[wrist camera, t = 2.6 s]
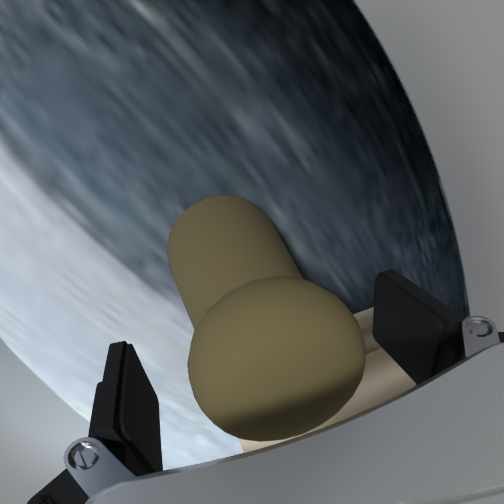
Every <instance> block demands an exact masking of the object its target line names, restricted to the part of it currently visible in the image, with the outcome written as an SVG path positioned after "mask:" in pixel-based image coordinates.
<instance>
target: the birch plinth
mask: <svg viewBox="0 0 504 504" xmlns="http://www.w3.org/2000/svg"><path fill="white" fill-rule="evenodd" d="M373 311H374V307H372V308H370V309H367V310H364V311H361V312H359V313H356V314H353V315H354V317H355V318H356V319H357V322H358V324H359V326H360V328H361V331H362V334H363V339H364V344H365V349H366V363H365V368H364V373H363V377H362V381H361V383H360V384H359V386H358V388H357V390H356V391H355V393H354V395H353V397H352V398H351V399H350V400H349V401H348V402H347V403H346V404H345V405H344V406H343V408H342V409H341V410H340V411H339V412H338V413H337V414H336V415H334V416H333V417H331V418H330V419H329V420H327V421H326V422H325V423H323V424H322V425H320V426H318V427H316V428H314V429H312V430H310V431H308V432H306V433H304V434H307V433H310V432H313V431H315V430H318V429H321V428H324V427H326V426H329V425H331V424H334V423H336V422H339V421H341V420H344V419H346V418H349V417H351V416H353V415H356V414H358V413H360V412H363V411H365V410H367V409H369V408H372V407H374V406H376V405H378V404H380V403H382V402H385V401H387V400H389V399H391V398H393V397H395V396H397V395H399V394H401V393H403V392H405V391H407V390H409V389H411V388H413V387H414V386H416V383H415V382H414V381H413V380H412V379H411V378H410V377H409V376H408V375H407V373H406V372H405V371H404V370H403V369H402V368H401V367H400V366H399V365H398V364H397V363H396V362H395V361H394V360H393V359H392V358H391V357H390V356H389V354H388V353H387V352H386V351H385V350H384V349H383V348H382V347H381V346H380V345H379V344H378V343H377V342H376V341H375V340H374V338H373V334H372V328H373ZM304 434H301V435H304ZM301 435H298V436H301ZM298 436H295V437H291V438H288V439H284V440H275V441H264V442H258V441H250V440H243V439H239V440H240V443H241V445H242V448H243V451H244V453H246V452H250V451H253V450H257V449H260V448H264V447H267V446H271V445H274V444H277V443H280V442H283V441H286V440H290V439H293V438H296V437H298Z"/></svg>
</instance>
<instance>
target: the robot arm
mask: <svg viewBox="0 0 504 504" xmlns="http://www.w3.org/2000/svg"><path fill="white" fill-rule="evenodd" d="M459 319H460V315H458V314H457V313H456V312H454V311H453V310H452V309H450V308H449V307H447V306H446V305H444V304H443V303H442V302H440V301H439V300H437V299H436V298H434V297H433V296H432V295H430V294H429V293H427V292H426V291H424V290H423V289H421V288H420V287H418V286H417V285H416V284H414V283H413V282H411V281H410V280H408V279H407V278H405V277H404V276H402V275H401V274H399V273H398V272H396V271H395V270H393V269H390V270H387V271H383V272H380V273H379V274H378V276H377V278H375V284H374V311H373V328H372V334H373V338H374V340H375V341H376V342H377V343H378V344H379V345H380V346H381V347H382V348H383V349H384V350H385V351H386V352H387V353H388V354H389V356H390V357H391V358H392V359H393V360H394V361H395V362H396V363H397V364H398V365H399V366H400V367H401V368H402V369H403V370H404V371H405V372H406V373H407V375H408V376H409V377H410V378H411V379H412V380H413V381H414V382H415V383H416V384H417V385H416V386H414V387H413V388H411V389H409V390H407V391H405V392H403V393H401V394H399V395H397V396H395V397H393V398H391V399H389V400H387V401H385V402H382V403H380V404H378V405H376V406H374V407H372V408H369V409H367V410H365V411H363V412H360V413H358V414H356V415H353V416H351V417H349V418H346V419H344V420H341V421H339V422H336V423H334V424H331V425H329V426H326V427H324V428H321V429H318V430H315V431H313V432H310V433H307V434H304V435H301V436H298V437H296V438H293V439H290V440H286V441H283V442H280V443H277V444H274V445H271V446H267V447H264V448H260V449H257V450H253V451H250V452H246V453H242V454H238V455H234V456H230V457H226V458H222V459H217V460H213V461H209V462H204V463H200V464H195V465H190V466H185V467H180V468H174V469H169V470H164V471H163V465H162V452H161V437H160V419H159V402H158V398H157V395H156V393H155V391H154V389H153V387H152V385H151V383H150V381H149V379H148V377H147V375H146V373H145V371H144V369H143V367H142V364H141V362H140V360H139V358H138V356H137V353H136V351H135V349H134V347H133V345H132V344H127V342H126V341H122V342H117V343H112V344H110V346H109V350H108V355H107V360H106V365H105V370H104V375H103V381H102V382H99V383H98V384H97V387H96V393H95V398H94V404H93V409H92V415H91V422H90V428H89V435H88V437H84V438H80V439H78V440H76V441H74V442H72V443H71V444H70V445H69V446H68V448H67V449H66V451H65V454H64V464H65V466H66V469H65V470H64V471H63V472H62V473H61V474H59V475H58V476H57V477H56V478H55V479H53V480H52V481H51V482H50V483H49V484H47V485H46V486H45V487H44V488H43V489H42V490H40V491H39V492H38V493H37V494H35V495H34V496H33V497H32V498H31V499H30V500H29V501H28V503H27V504H504V332H497V328H496V326H495V324H494V323H493V322H492V321H491V320H489V319H488V318H485V317H482V316H471V317H468V318H466V319H465V320H464V321H463V323H461V322H459Z"/></svg>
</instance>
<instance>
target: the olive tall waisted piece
mask: <svg viewBox="0 0 504 504" xmlns="http://www.w3.org/2000/svg"><path fill="white" fill-rule="evenodd" d="M167 255H168V260H169V266H170V269H171V272H172V274H173V277H174V280H175V282H176V285H177V287H178V290H179V293H180V295H181V298H182V300H183V303H184V305H185V308H186V310H187V313H188V315H189V318H190V320H191V322H192V325H193V327H194V330H195V331H194V334H193V338H192V342H191V347H190V353H189V358H188V364H187V365H188V373H189V380H190V383H191V387H192V390H193V394H194V397H195V399H196V401H197V403H198V405H199V407H200V408H201V410H202V411H203V412H204V414H205V415H206V416H207V417H208V418H209V419H210V420H211V421H212V422H213V423H214V424H215V425H216V426H218V427H219V428H220V429H222V430H223V431H224V432H226V433H228V434H231V435H233V436H235V437H237V438H239V439H243V440H250V441H258V442H264V441H275V440H284V439H288V438H291V437H295V436H298V435H301V434H304V433H306V432H308V431H310V430H312V429H314V428H316V427H318V426H320V425H322V424H323V423H325V422H326V421H327V420H329V419H330V418H331V417H333V416H334V415H336V414H337V413H338V412H339V411H340V410H341V409H342V408H343V406H344V405H345V404H346V403H347V402H348V401H349V400H350V399H351V398H352V397H353V395H354V393H355V391H356V390H357V388H358V386H359V384H360V383H361V381H362V377H363V373H364V368H365V363H366V349H365V344H364V339H363V334H362V331H361V328H360V326H359V324H358V322H357V319H356V318H355V317H354V315H353V314H352V313H351V312H350V310H349V309H348V308H347V307H346V305H345V304H344V303H343V302H342V301H341V300H340V299H339V298H338V297H337V296H336V295H335V294H334V293H332V292H330V291H328V290H326V289H324V288H322V287H320V286H318V285H316V284H314V283H312V282H310V281H307V280H305V279H303V278H302V276H301V274H300V272H299V270H298V268H297V267H296V265H295V263H294V261H293V259H292V258H291V256H290V254H289V252H288V250H287V249H286V247H285V245H284V243H283V241H282V240H281V238H280V236H279V234H278V233H277V231H276V229H275V227H274V225H273V224H272V222H271V220H270V219H269V217H268V216H267V215H266V214H265V213H264V212H263V211H262V209H261V208H260V207H259V206H257V205H255V204H254V203H252V202H250V201H248V200H247V199H245V198H241V197H235V196H230V195H222V196H215V197H208V198H206V199H204V200H202V201H200V202H198V203H195V204H193V205H191V206H190V207H189V208H188V209H187V210H186V211H185V212H184V213H183V214H182V215H181V216H180V217H179V218H178V219H177V221H176V223H175V225H174V227H173V228H172V230H171V232H170V234H169V240H168V247H167Z"/></svg>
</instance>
